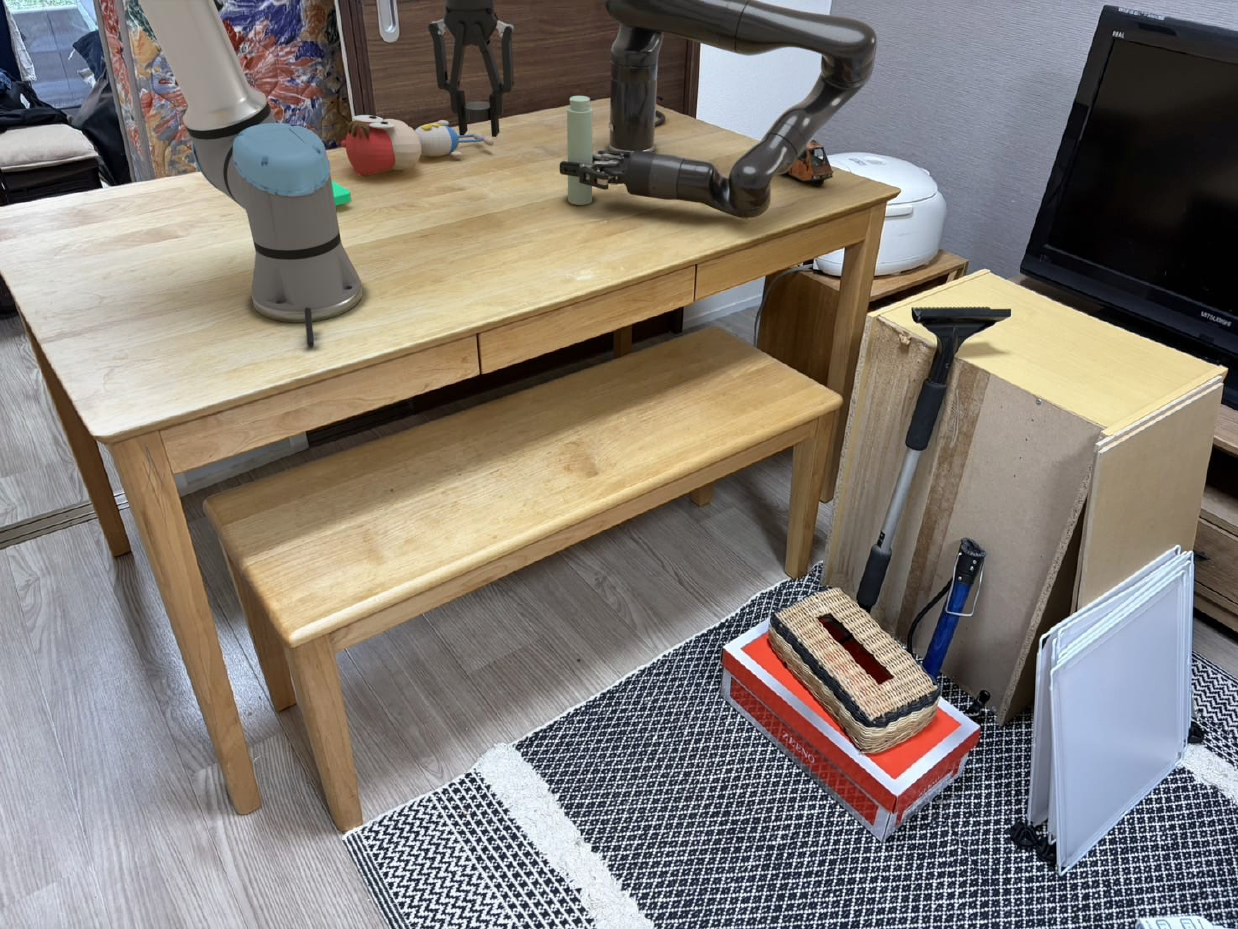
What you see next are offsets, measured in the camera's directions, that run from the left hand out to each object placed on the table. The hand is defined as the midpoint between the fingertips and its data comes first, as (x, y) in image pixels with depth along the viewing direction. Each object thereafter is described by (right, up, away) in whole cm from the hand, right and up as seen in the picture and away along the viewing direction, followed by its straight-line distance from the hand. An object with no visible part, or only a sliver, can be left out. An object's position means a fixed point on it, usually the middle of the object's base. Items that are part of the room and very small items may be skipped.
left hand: (479, 133), depth 155 cm
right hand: (+14, -2, +10) cm, 17 cm away
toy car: (+59, 0, +25) cm, 64 cm away
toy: (-16, +4, +27) cm, 32 cm away
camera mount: (-30, -9, +9) cm, 33 cm away
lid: (0, +3, -3) cm, 4 cm away
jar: (+16, -8, +13) cm, 22 cm away
